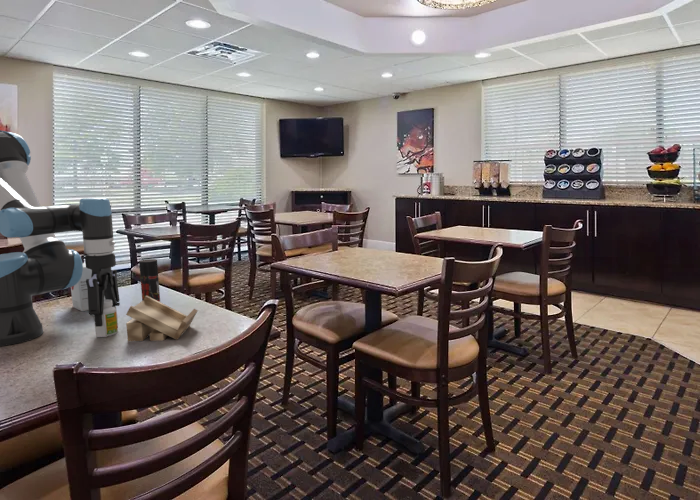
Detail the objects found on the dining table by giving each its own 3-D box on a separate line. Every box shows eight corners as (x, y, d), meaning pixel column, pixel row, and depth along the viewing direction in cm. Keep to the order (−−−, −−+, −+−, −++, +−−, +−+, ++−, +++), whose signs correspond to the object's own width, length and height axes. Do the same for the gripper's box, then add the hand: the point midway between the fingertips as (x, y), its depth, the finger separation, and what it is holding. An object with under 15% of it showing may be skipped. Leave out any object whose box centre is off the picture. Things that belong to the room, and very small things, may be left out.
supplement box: (71, 307, 163) (67, 264, 161) (99, 301, 170) (95, 261, 167) (81, 311, 157) (76, 268, 155) (109, 306, 164) (105, 264, 161)
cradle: (127, 341, 129) (124, 306, 127) (144, 327, 140) (141, 295, 139) (187, 339, 129) (185, 305, 128) (198, 326, 141) (196, 294, 140)
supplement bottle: (109, 337, 132) (106, 304, 130) (92, 336, 133) (89, 303, 131) (122, 331, 137) (119, 299, 136) (105, 330, 138) (102, 298, 137)
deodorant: (143, 300, 171) (140, 259, 169) (160, 298, 173) (157, 258, 171) (141, 304, 166) (138, 262, 163) (159, 302, 168) (156, 261, 165)
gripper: (97, 259, 122) (105, 343, 126) (127, 247, 141) (134, 321, 145) (67, 259, 121) (76, 344, 125) (102, 248, 141) (109, 322, 144)
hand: (107, 332), depth 135 cm, fingers open, 6 cm apart
